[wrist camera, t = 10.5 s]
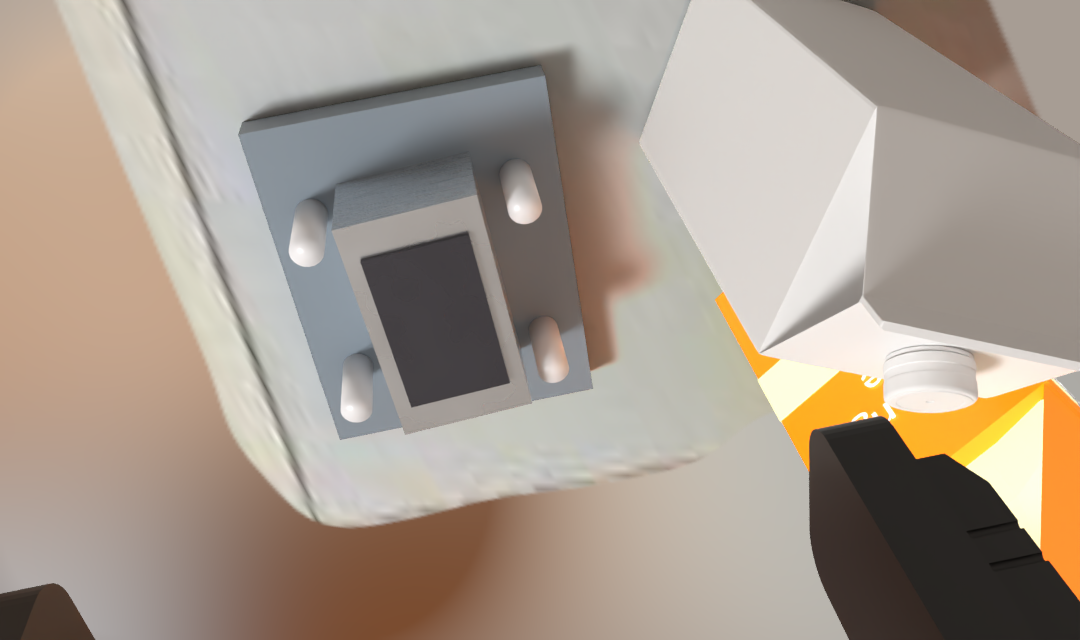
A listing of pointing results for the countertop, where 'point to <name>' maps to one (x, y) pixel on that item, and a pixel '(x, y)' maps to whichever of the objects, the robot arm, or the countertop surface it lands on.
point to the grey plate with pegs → (403, 140)
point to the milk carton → (871, 201)
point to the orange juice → (953, 439)
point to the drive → (431, 291)
